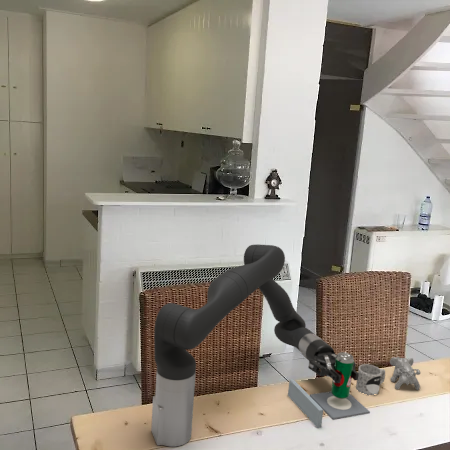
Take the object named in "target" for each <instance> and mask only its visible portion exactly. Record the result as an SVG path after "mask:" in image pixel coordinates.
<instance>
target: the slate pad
mask: <svg viewBox="0 0 450 450" xmlns="http://www.w3.org/2000/svg"><path fill="white" fill-rule="evenodd" d="M309 396H310V397H311V398H312V399H313V400H314V401H315V402H316V403H317V404H318V405H319V406H320V407H321V408H322V409H323V412H325V413H326V414H327V415H328V417H329V418H331V419H332V420H333V421H334V420H339V419H340V420H341V419H346V418H352V417H356V416H361V415H367V414H370V412H371V411H370V410H369V409H367V408H366V407H365V405H363V404H362V403H361V402H360V401H359V400H357V398H355V396H353V395H352V394H351V393H349V396H348V397H347V398H345V399H340V398H336V397H335V396H333V394H332V393H331V390H330V391H325V392H323V391H322V392H318V393H312V394H309Z"/></svg>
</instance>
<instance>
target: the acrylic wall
mask: <svg viewBox="0 0 450 450" xmlns="http://www.w3.org/2000/svg"><path fill="white" fill-rule="evenodd" d="M288 381H289V383H288V389H287V396H288V397H289V399H291V400H292V402H293V403H294V404H295V405H296V406H297V408H299V409H300V411H301V412H302V413H303V414H304V415H305V414H306V415H307V416H306V415H305V416H306V417H307V418H308V417H309V418H308V420H309V421H310V422H312V424H313V425H314V426H315V428H316V429H317V428H322V425H323V424H322V423H323V415H324V410H323V409H322V408H321V407H320V406H319V405H318V404H317V403H316V402H315V401H314V400H313V399H312V398H311V397H310V394H308V392H307V391H305V389H303V387H301V385H300V384H299V383H298V382H296V380H295V379H293V378H291V379H289V380H288Z"/></svg>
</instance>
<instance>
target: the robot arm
mask: <svg viewBox="0 0 450 450" xmlns="http://www.w3.org/2000/svg"><path fill="white" fill-rule="evenodd" d="M285 262H286V256H285V253H284V250H283V249H282V248H280V247H279V246H276V245H273V244H272V245H271V244H251V245H248V246H247V247H246V248H245V250H244V254H243V265H239V266H236V267H232V268H230V269H227V270H226V271H224V272H222V273H220V275H218V276H217V277H215V278H214V279H213V280H212V282H210V284H209V286H208V288H207V296H206V299H207V301H206V303H205V304H204V305H203V306H201V307H199V308H197V309H196V308H195V309H193V308H191V307H188V306H183V305H181V304H178V303H173V302H170V303H166V304H164V305H163V306H162V307H161V308H160V309H159V310H158V312H157V316H156V318H155V322H154V333H153V336H154V346H153V347H154V361H155V363H156V378H155V379H156V380H155V381H156V382H155V395H153V396H152V409H151V428H150V429H151V434H152V436H153V438H154V441H155V443H156V446H166V447H170V448H171V447H172V448H173V447H180V446H184V445H185V444H187V443H188V442H189V441H190V440H191V438H192V431H193V416H194V415H193V414H194V400H195V399H194V398H195V389H196V388H195V387H196V386H195V384H196V372H197V371H196V369H197V361H196V359H195V357H194V356H193V355H192V354H191V353H190V352H189V351H188V350H193V349H195V348H196V347H198V346H199V345H200V344H201V343H202V342H204V340H205V339H206V338H207V337H208V336H209V335H210V334H211V332H212V331H213V330H214V329H215V327H217V325H219V324H220V322H221V321H222V320H224V319H225V317H227V316H228V315H229V314H230V313H231V312H232V311H234V309H236V308H237V307H238V306H239V305H240V304H241V303H243V302H244V301H245V300H246V299H247V298H249V296H250V295H252V294H253V293H254V292H255V291H256V290H260V292H261V293H262V295H263V297H264V299H265V300H266V301H267V304H268V307H269V308H270V311H271V314H272V316H273V317H274V319H275V320H276V321H277V323H276V324H275V326H274V328H273V331H274V334H275V337H276V338H277V339H278V340H279V341H280V342H282V343H283V344H285V345H289V346H290V347H291V346H292V347H294V348H296V349H297V350H298V351H299V352H300V353H301V355H302V356H303V357H304V358H305V359H307V361H308V367H307V368H308V369H309V370H310V371H312V372H314V373H316V374H317V376H318V375H319V376H320V377H322V378H324V377H325V376H326V377H328V378H330V379H331V380H332V381H333V380H334V381H336V382H337V383H340V382H341V375H340V374H338V373H337V372H336V371H335V370H334V366H335V359H336V356H337V353H336V352H335V350H334V349H333V347H332V346H331V345H330V344H328V343H327V342H326V341H325V340H323V339H322V338H321V337H319V336H318V335H316V334H314V332H312V331H311V330H310V329H308V328H307V327H306V325H307V324H306V321H305V320H304V319H303V318H302V316H301V315H300V314H299V313H298V312H297V311H296V309H295V308H294V306H293V303H292V300H291V298H290V296H289V294H288V292H287V291H286V290H285V289H284V288H283V287H282V286H281V285H280V284H278V283H277V281H276V280H274V278H275V277H277V276H279V274H280V273H281V272H282V270H283V268H284V266H285ZM356 365H357V364H356V362H355V361H354V366H353V373H352V380H353V381H357V380H358V375H359V373H358V371H357V370H356Z"/></svg>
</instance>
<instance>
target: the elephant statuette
mask: <svg viewBox="0 0 450 450" xmlns="http://www.w3.org/2000/svg"><path fill="white" fill-rule="evenodd" d="M389 363H390V365H391V366H393V367H394V370H393V373H392V376H390V378H389V380H390V381H391V382H392V383H395V384H394V388H395V389H396V390H400V388H401V386H402V385H403V384H406V386H408V385H413V386H414V390H416V391H419V390H420V389H421V385H420V382H419V380H418V378H417V376H419V375H421V371H420V369H417V368H413V365H414V358H413V357H412V358H405V357H399V356H397V357H395V356H394V357H393V356H392V357H391V358H390V359H389ZM416 375H417V376H416ZM396 381H397V382H396Z"/></svg>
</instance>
